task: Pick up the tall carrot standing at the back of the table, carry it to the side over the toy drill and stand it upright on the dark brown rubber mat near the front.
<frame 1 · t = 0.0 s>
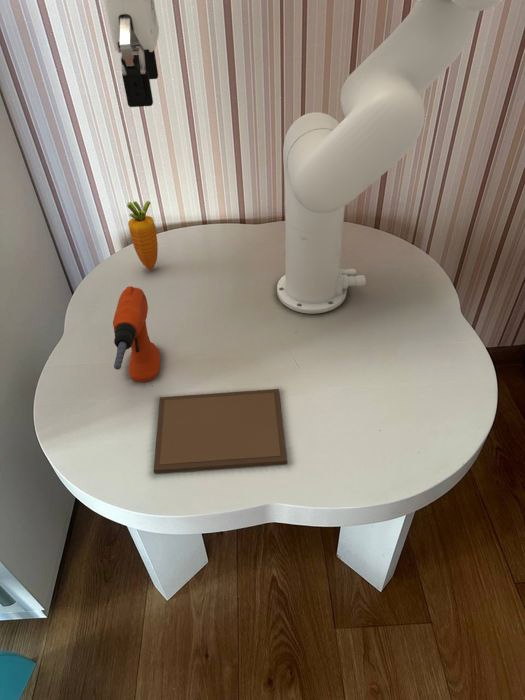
hand: (144, 91, 77), 37 cm above the table, tool pointing down, fingers open, 9 cm apart
toy drill: (143, 386, 88), on the table
mat: (220, 430, 81), on the table
carrot: (151, 270, 109), on the table
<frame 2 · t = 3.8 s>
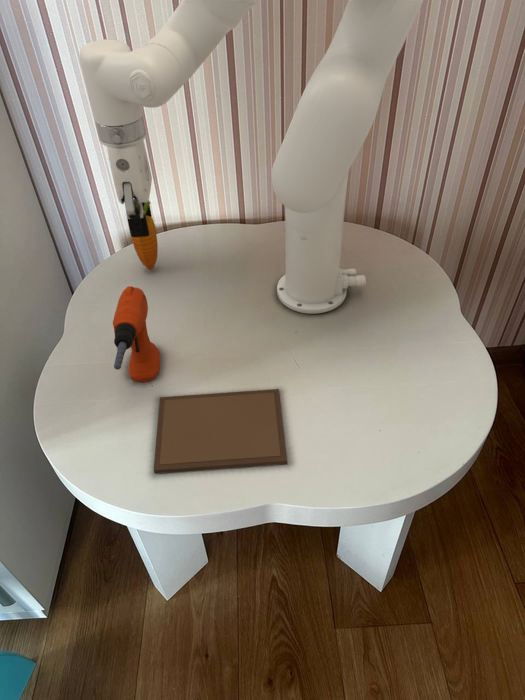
hand: (141, 226, 102), 10 cm above the table, tool pointing down, fingers closed on carrot, 4 cm apart
carrot: (151, 270, 109), on the table, touching gripper
everything else where it was.
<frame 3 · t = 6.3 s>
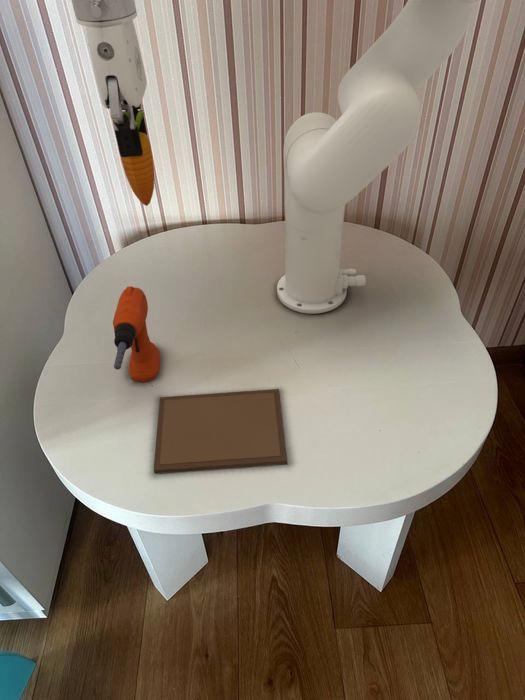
hand: (134, 145, 82), 29 cm above the table, tool pointing down, fingers closed on carrot, 4 cm apart
carrot: (147, 206, 89), point 19 cm above the table, touching gripper
everything else where it was.
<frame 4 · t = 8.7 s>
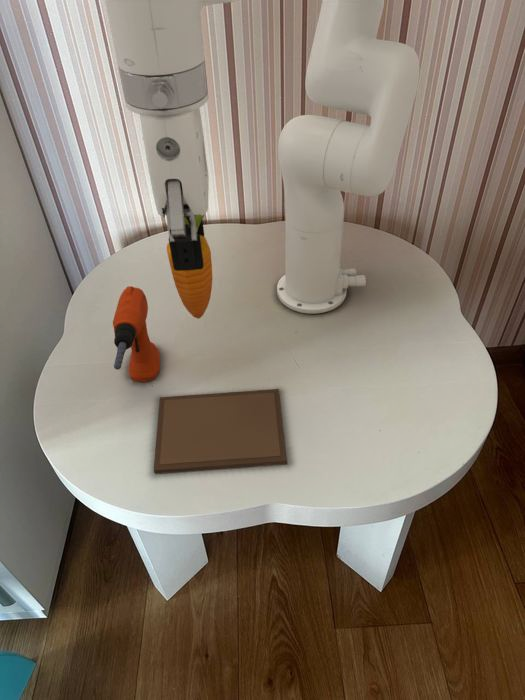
hand: (189, 251, 63), 29 cm above the table, tool pointing down, fingers closed on carrot, 4 cm apart
carrot: (198, 319, 70), point 19 cm above the table, touching gripper
everything else where it was.
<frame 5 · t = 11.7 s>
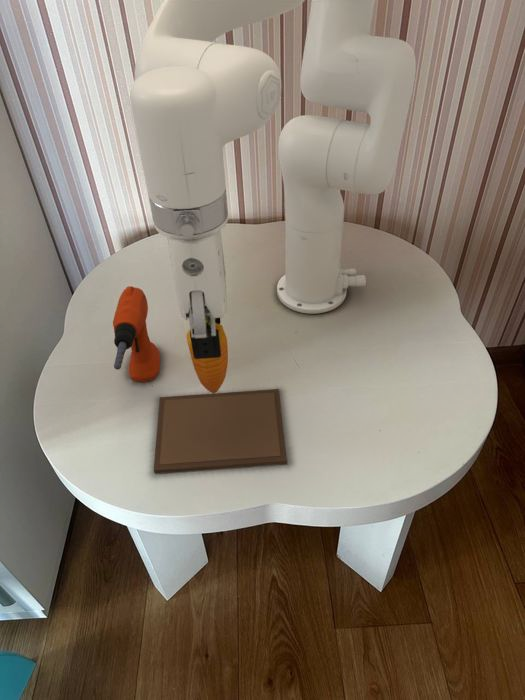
hand: (207, 338, 68), 18 cm above the table, tool pointing down, fingers closed on carrot, 4 cm apart
carrot: (214, 393, 75), point 8 cm above the table, touching gripper
everything else where it was.
when the fingers open (11 cm above the table, at t = 14.1 s): carrot stays where it is, resting on mat.
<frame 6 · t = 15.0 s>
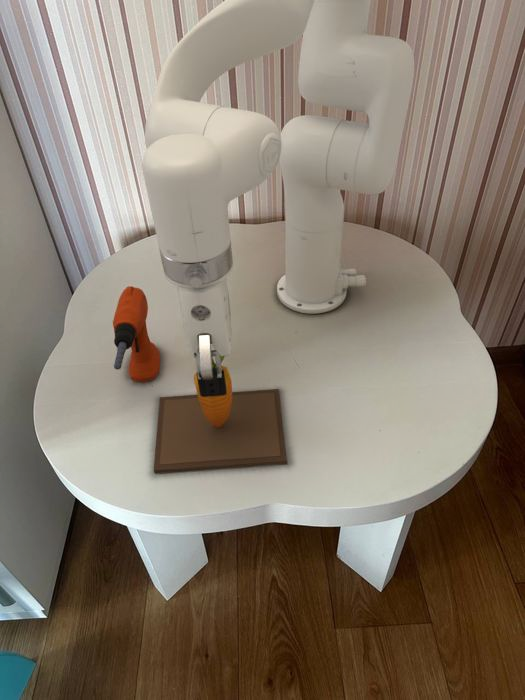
hand: (213, 365, 72), 13 cm above the table, tool pointing down, fingers open, 9 cm apart
carrot: (219, 427, 81), point 1 cm above the table, touching mat
everything else where it was.
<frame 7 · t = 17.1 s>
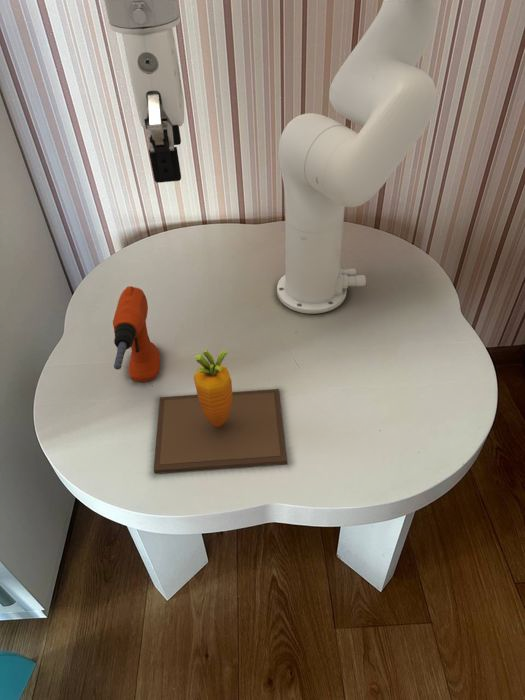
hand: (168, 161, 71), 32 cm above the table, tool pointing down, fingers open, 9 cm apart
nothing on the table moved.
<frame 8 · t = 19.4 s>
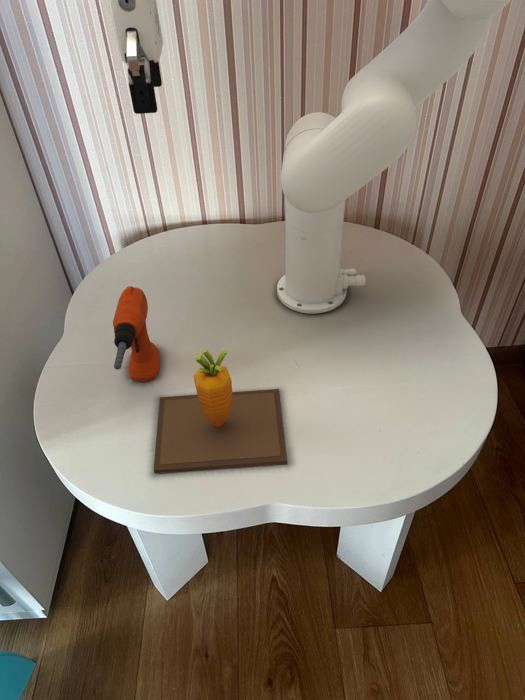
hand: (148, 98, 81), 34 cm above the table, tool pointing down, fingers open, 9 cm apart
nothing on the table moved.
at the end: carrot inside the target area on the mat (0.1 cm from its centre), point 0.7 cm above the mat's base; carrot tilted 0°; the gripper is holding nothing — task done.
